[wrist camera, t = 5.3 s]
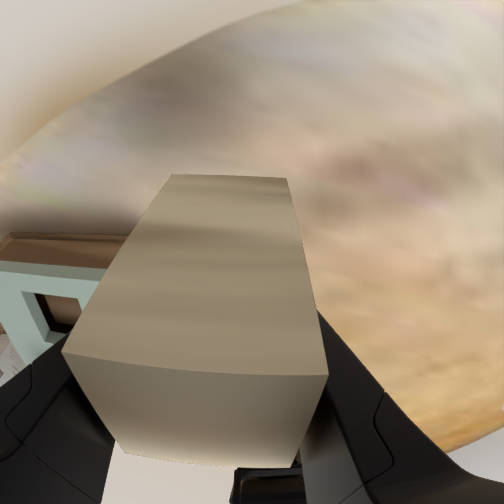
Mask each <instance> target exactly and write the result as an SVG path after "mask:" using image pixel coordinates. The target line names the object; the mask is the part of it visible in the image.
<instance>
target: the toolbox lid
mask: <svg viewBox="0 0 504 504" xmlns="http://www.w3.org/2000/svg"><path fill="white" fill-rule="evenodd" d="M106 271H107V269H99V268H85V267H71V266H59V265H46V264H34V263H23V262H11V261H1V260H0V322H1V324H2V326H3V328H4V330H5V331H6V333H7V335H8V337H9V339H10V340H11V342H12V344H13V345H14V347H15V349H16V350H17V352H18V354H19V355H20V357H21V359H22V360H23V362H24V363H25V365H26V366H27V365H28V364H30V363H31V364H32V361H34V360H35V359H36V358H37V357H38V356H40V355H41V354H42V353H43V352H45V351H46V350H47V349H48V348H50V347H51V346H52V345H53V344H55V343H56V342H57V341H58V340H60V339H61V338H62V337H64V336H65V335H66V334H64V333H58V332H53V331H50V329H49V327H48V324H47V322H46V320H45V318H44V316H43V314H42V311H41V309H40V307H39V304H38V302H37V300H36V297H35V295H34V293H39V294H46V295H54V296H62V297H70V298H78V301H79V304H80V307H81V309H82V311H83V310H84V308H85V306H86V304H87V303H88V301H89V299H90V297H91V296H92V294H93V292H94V291H95V289H96V287H97V286H98V284H99V282H100V281H101V279H102V277H103V276H104V274H105V272H106Z"/></svg>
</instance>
